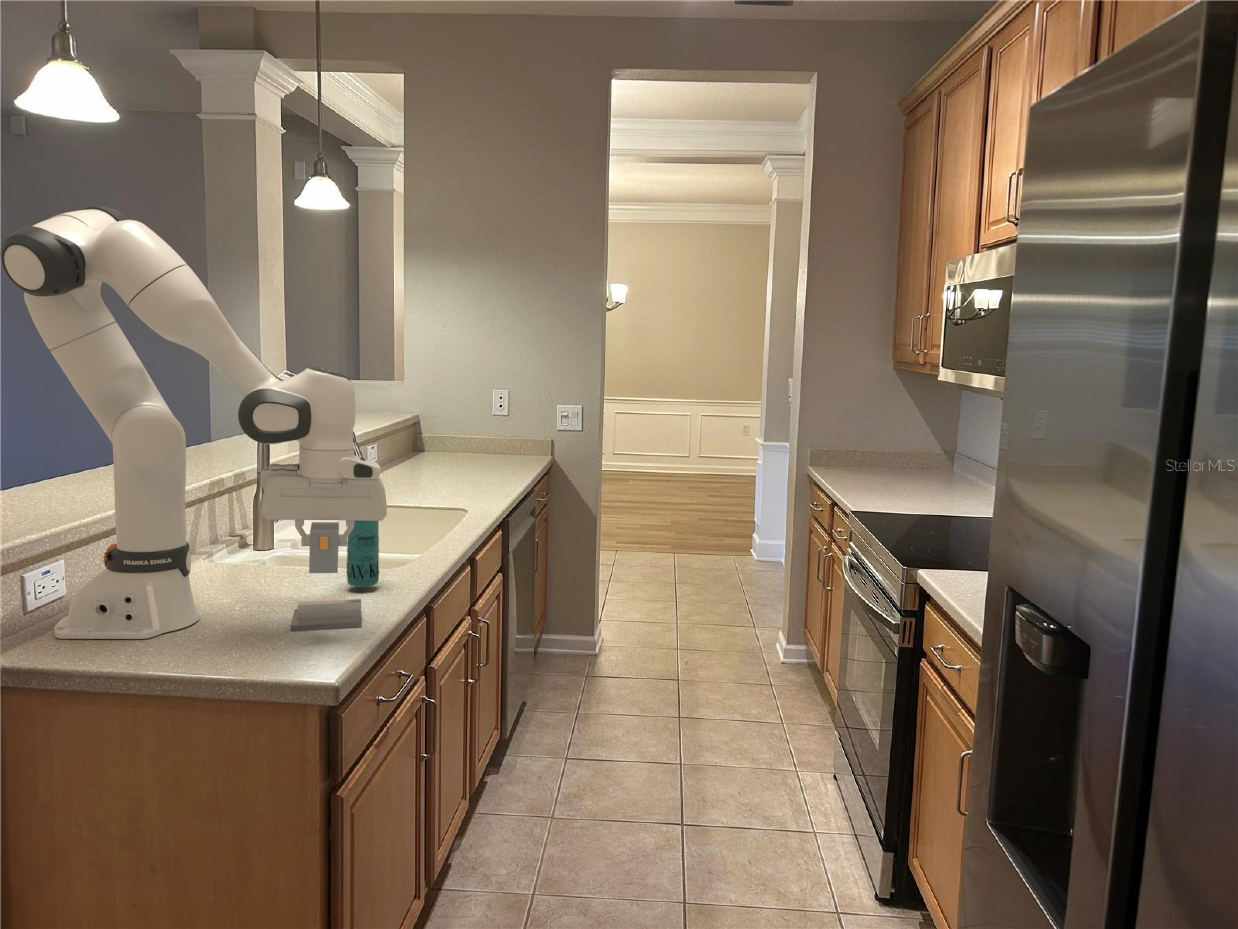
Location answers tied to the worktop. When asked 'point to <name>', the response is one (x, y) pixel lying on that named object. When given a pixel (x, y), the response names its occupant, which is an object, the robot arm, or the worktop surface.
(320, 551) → the module
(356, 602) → the grey ledge plate
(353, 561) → the beverage bottle
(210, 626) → the worktop surface
